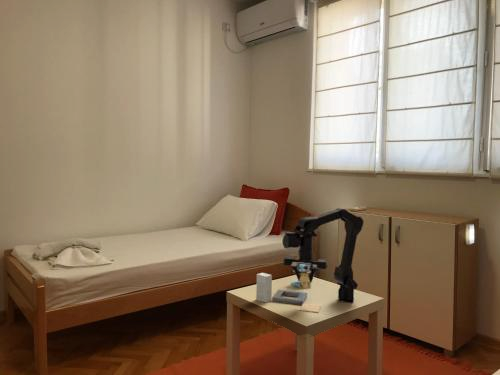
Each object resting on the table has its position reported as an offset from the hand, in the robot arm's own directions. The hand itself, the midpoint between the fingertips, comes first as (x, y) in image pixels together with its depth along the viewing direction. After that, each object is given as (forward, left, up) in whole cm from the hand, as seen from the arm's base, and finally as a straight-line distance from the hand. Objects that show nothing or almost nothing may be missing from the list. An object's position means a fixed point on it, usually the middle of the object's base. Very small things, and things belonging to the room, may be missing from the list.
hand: (305, 281), depth 179 cm
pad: (-3, +3, -11) cm, 12 cm away
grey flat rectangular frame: (+8, -6, -11) cm, 15 cm away
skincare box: (+19, 0, -11) cm, 22 cm away
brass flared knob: (0, 0, -3) cm, 3 cm away
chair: (+7, -30, -11) cm, 33 cm away
